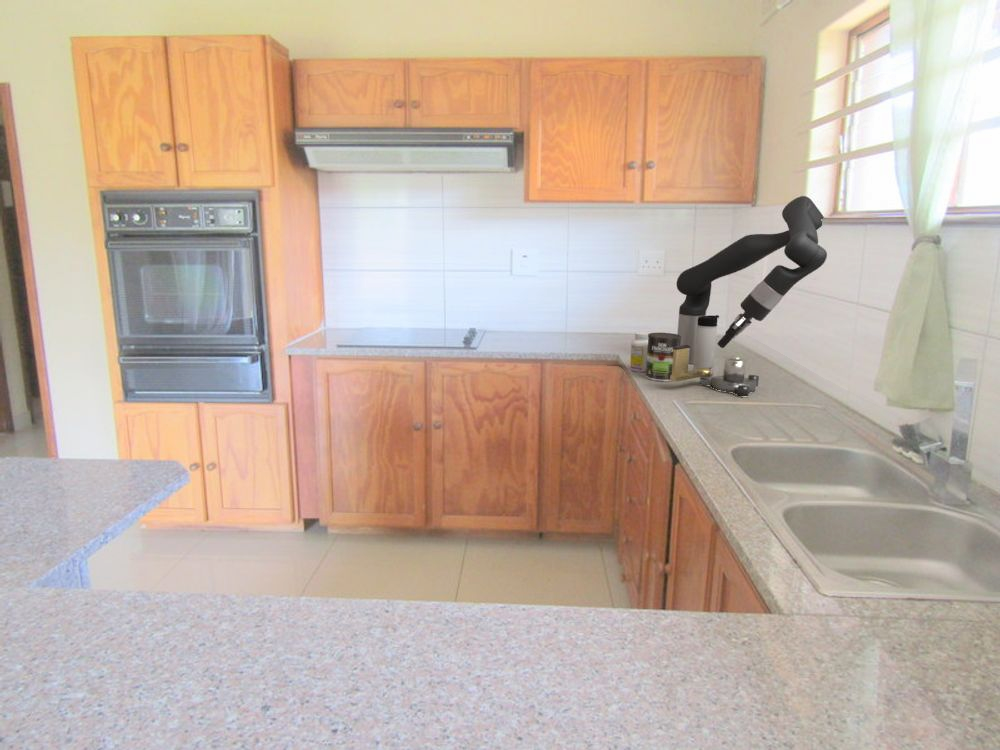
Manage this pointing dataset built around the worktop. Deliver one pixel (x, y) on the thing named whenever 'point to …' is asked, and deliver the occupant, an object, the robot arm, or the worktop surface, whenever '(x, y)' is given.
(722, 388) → the levelling base
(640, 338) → the supplement bottle
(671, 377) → the lever
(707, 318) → the travel mug
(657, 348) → the coffee can
